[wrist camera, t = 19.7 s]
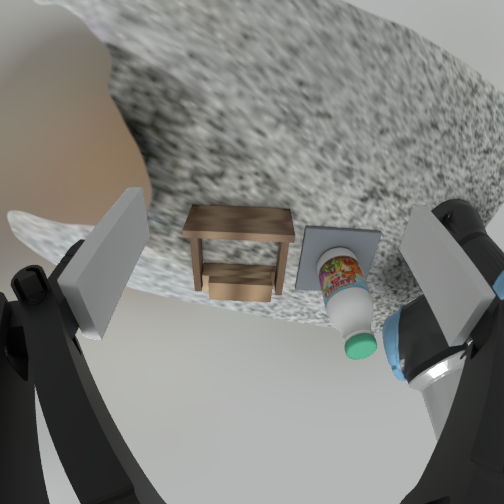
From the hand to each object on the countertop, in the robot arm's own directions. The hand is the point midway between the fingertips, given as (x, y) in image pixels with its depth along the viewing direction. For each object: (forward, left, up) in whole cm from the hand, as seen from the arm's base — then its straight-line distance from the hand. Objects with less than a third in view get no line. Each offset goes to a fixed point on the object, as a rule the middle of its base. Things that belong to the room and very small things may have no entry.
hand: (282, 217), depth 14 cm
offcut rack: (+3, +24, -32) cm, 40 cm away
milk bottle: (-15, +26, -31) cm, 43 cm away
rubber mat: (-15, +26, -32) cm, 44 cm away
